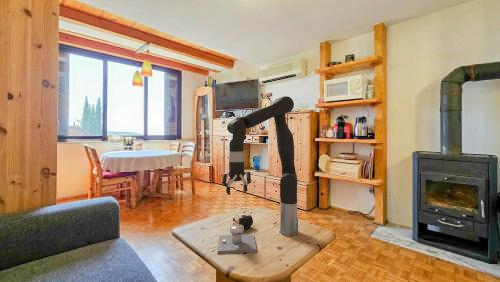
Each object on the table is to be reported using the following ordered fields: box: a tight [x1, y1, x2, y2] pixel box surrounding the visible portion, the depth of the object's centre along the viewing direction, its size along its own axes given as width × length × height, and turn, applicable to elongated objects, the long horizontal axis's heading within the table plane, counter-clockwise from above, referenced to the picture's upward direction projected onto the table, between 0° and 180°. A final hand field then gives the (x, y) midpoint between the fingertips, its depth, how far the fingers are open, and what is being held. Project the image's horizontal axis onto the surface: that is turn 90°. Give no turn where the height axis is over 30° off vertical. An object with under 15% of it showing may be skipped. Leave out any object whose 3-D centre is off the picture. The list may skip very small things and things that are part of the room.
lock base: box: [217, 233, 258, 255], centre depth 111 cm, size 18×16×6 cm
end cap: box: [232, 214, 254, 229], centre depth 131 cm, size 10×7×7 cm
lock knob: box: [229, 213, 245, 235], centre depth 111 cm, size 10×7×7 cm
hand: (236, 193), depth 111 cm, fingers open, 8 cm apart
